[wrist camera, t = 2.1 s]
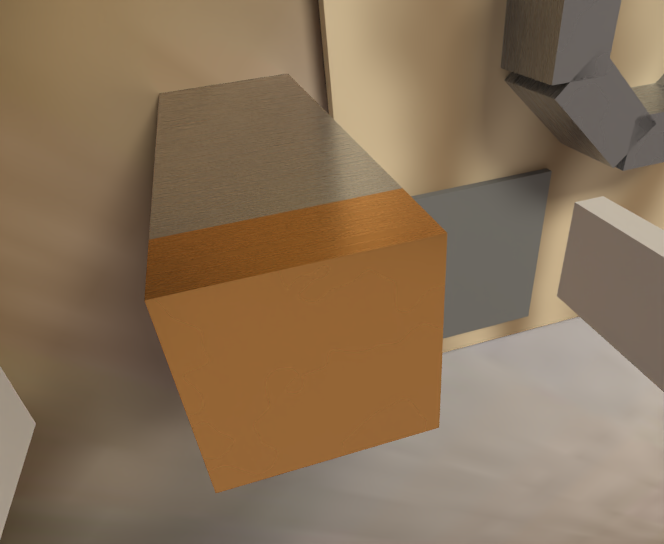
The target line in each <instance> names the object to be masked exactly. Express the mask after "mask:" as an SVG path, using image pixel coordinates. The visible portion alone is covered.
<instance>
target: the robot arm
mask: <svg viewBox="0 0 664 544" xmlns="http://www.w3.org/2000/svg"><path fill="white" fill-rule="evenodd" d="M557 297H558V298H560V299H561V300H562V301H563V302H564V303H565V304H566V305H567V306H568V307H570V308H571V309H572V310H573V311H574V312H575V313H576V314H577V315H579V316H580V317H581V318H582V319H583V320H584V321H585V322H586V323H587V324H589V325H590V326H591V327H592V328H593V329H594V330H595V331H596V332H598V333H599V334H600V335H601V336H602V337H603V338H604V339H605V340H606V341H608V342H609V343H610V344H611V345H612V346H613V347H614V348H615V349H616V350H618V351H619V352H620V353H621V354H622V355H623V356H624V357H625V358H627V359H628V360H629V361H630V362H631V363H632V364H633V365H634V366H635V367H637V368H638V369H639V370H640V371H641V372H642V373H643V374H644V375H645V376H647V377H648V378H649V379H650V380H651V381H652V382H653V383H654V384H656V385H657V386H658V387H659V388H660V389H661V390H662V391H663V392H664V230H662V229H661V228H659V227H657V226H655V225H654V224H652V223H650V222H648V221H646V220H645V219H643V218H641V217H639V216H638V215H636V214H634V213H632V212H630V211H629V210H627V209H625V208H623V207H622V206H620V205H618V204H616V203H614V202H613V201H611V200H609V199H607V198H606V197H604V196H602V197H597V198H592V199H587V200H583V201H578V202H575V204H574V209H573V214H572V219H571V225H570V230H569V235H568V240H567V246H566V251H565V256H564V261H563V266H562V272H561V277H560V282H559V287H558V292H557ZM35 425H36V423H35V422H34V420H33V418H32V417H31V415H30V414H29V412H28V410H27V409H26V407H25V406H24V404H23V402H22V401H21V399H20V397H19V396H18V394H17V393H16V391H15V389H14V388H13V386H12V385H11V383H10V381H9V380H8V378H7V377H6V375H5V373H4V372H3V370H2V368H1V367H0V538H1V535H2V532H3V528H4V525H5V522H6V519H7V515H8V512H9V509H10V506H11V502H12V499H13V496H14V493H15V489H16V486H17V483H18V480H19V476H20V473H21V470H22V467H23V464H24V460H25V457H26V454H27V451H28V447H29V444H30V441H31V438H32V434H33V431H34V428H35Z"/></svg>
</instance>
